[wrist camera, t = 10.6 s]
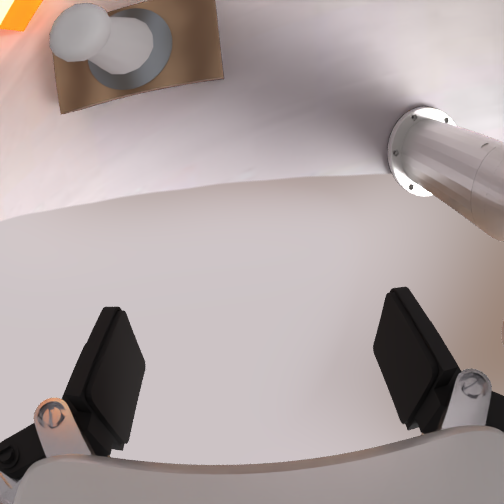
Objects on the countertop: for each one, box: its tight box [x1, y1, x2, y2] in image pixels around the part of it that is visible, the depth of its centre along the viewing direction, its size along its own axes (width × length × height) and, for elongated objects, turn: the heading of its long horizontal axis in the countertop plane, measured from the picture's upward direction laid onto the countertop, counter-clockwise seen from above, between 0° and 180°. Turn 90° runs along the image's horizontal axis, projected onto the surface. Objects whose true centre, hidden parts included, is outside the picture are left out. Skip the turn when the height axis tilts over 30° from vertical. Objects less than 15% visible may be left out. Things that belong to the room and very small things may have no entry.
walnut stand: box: [53, 0, 224, 114], centre depth 27 cm, size 18×10×6 cm, turn 95°
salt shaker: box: [50, 3, 153, 74], centre depth 19 cm, size 6×6×13 cm
